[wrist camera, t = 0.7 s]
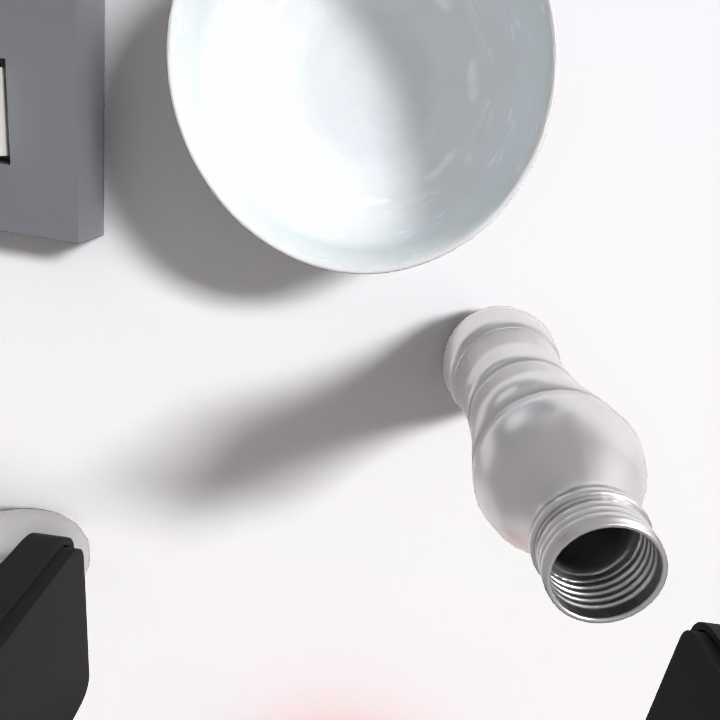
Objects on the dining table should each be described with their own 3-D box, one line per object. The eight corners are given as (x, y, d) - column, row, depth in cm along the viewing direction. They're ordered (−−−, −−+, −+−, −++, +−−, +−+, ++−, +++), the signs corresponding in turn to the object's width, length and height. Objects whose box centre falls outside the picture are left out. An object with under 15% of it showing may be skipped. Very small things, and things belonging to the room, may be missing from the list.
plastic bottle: (428, 389, 37) (471, 644, 18) (452, 286, 35) (529, 458, 16) (528, 407, 37) (671, 677, 19) (559, 305, 35) (758, 497, 16)
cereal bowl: (146, 23, 31) (80, -10, 24) (432, -181, 27) (447, -285, 21) (314, 300, 35) (297, 337, 29) (574, 157, 32) (623, 161, 25)
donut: (115, 506, 41) (35, 614, 32) (117, 546, 43) (40, 661, 33) (-26, 489, 41) (-147, 592, 32) (-21, 530, 43) (-135, 640, 33)
